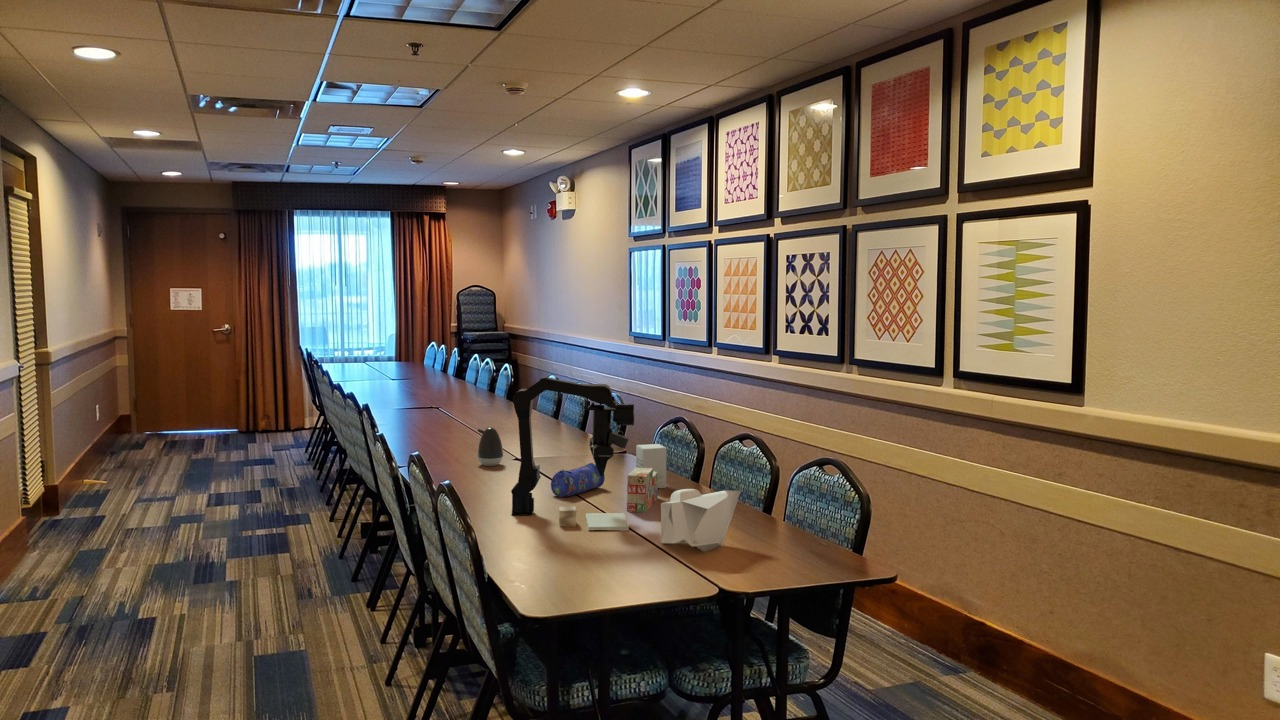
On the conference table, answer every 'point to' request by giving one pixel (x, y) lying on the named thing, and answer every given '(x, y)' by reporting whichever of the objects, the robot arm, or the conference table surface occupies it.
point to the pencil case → (576, 480)
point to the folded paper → (697, 517)
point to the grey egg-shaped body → (490, 447)
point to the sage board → (606, 521)
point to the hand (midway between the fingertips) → (600, 472)
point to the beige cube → (567, 516)
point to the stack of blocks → (641, 489)
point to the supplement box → (653, 460)
